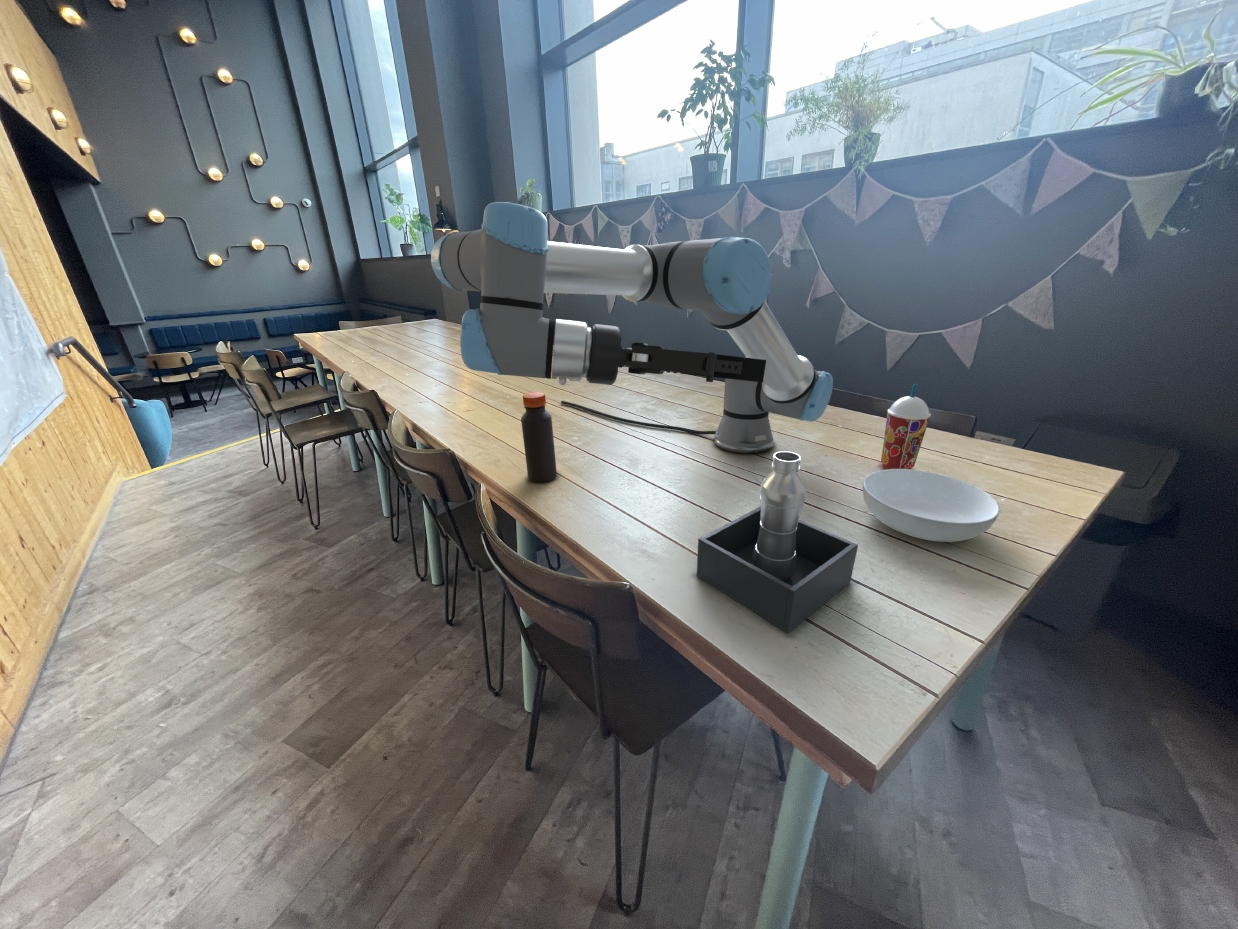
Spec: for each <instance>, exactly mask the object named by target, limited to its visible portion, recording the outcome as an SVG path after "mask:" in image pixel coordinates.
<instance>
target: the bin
mask: <svg viewBox="0 0 1238 929" xmlns="http://www.w3.org/2000/svg"><path fill="white" fill-rule="evenodd" d="M760 516H761V505H760V506H758V507H756V508H754V509H753V510H751V511H749V512H746V513H745V514H743V515H741V516H739V517H738V518H735V519H733V520H732V521H730V522H727V523H726V524H724V525H722V526H720V527H718V528H716V529H714V530H712V531H710V532H709V533H706V534H704V535H703V536H701V537H699V538H697V559H696V561H697V562H696V577H698V578H700V580H702V581H704V582H706V583H707V584H709V585H710V586H712V587H714V588H715V589H716V590H718V591H720V592H721V593H723V594H725V595H726V596H728V597H729V598H731V599H732V600H734V601H736V602H737V603H739V604H741V605H742V606H744V607H745V608H747V609H748V610H750V611H752V612H753V613H755V614H756V615H757V616H759V617H761V618H763V619H764V620H765V621H767V622H769V623H770V624H772V625H773V626H776V628H779V629H780V630H782V631H783V632H784V633H786V634H790V633H791V632H792V631H793V630H794V629H795V628H797V627H798V626H800V625H801V624H802V623H803V622H804V621H805V620H807V619H808V618H809V617H810V616H812V615H813V614H814V613H816V611H818V610H819V609H820V608H822V607H823V606H824V605H825V604H827V603H828V602H829V601H830V600H831V599H833V598H834V597H835V596H836V595H837V594H839V593H840V592H841V591H843V589H845V588H846V587H848V585H850V584H851V581H852V576H853V571H854V567H855V562H856V557H857V552H858V547H859V543H858V544H857V543H855V542H853V541H851V540H848V539H846V538H844V537H841V536H839V535H836V534H834V533H833V532H832V533H831V532H829V531H827V530H825V529H823V528H820V527H818V526H815V525H813V524H810V523H808V522H806V521H803V520H801V519H799V521H798V526H797V531H796V547H795V551H796V567H795V570H794V573H793V574H792V576H791V577H789V578H788V579H787V580H785V581H781V580H779V579H778V578H776V577H774V576H772V575H770V574H768V573H767V572H765V571H763V570H761V569H759V568H757V567H756V566H754V565H753V559H752V557H753V553H754V549H755V546H756V544H757V539H758V534H759V530H760Z"/></svg>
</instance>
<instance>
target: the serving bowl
mask: <svg viewBox="0 0 1238 929" xmlns="http://www.w3.org/2000/svg"><path fill="white" fill-rule="evenodd" d="M862 496H863V500H864V504H865V505H866V507H867V509H868V510H869V512H870V513H871V514H872V515H873V516H874V517H875V518H876V519H877V520H878V521H880V523H882V524H884V525H885V526H887V527H889V528H891V529H893V530H894V531H896V532H899V533H901V534H904V535H907V536H910V537H913V538H917V539H920V540H927V541H933V542H942V543H943V542H945V543H954V542H961V541H968V540H970V539H973V538H976V537H978V536H980V535H982V534H984V533H985V532H987V531H988V530H989V529H990V528H992V527H993V525H994V524H995V522H996V520H997V519H998V517H999V516H1000V512H1001V507H1000V505H999V502H997V500H996V499H995V498H994V497H993V496H992V495H990V494H989V493H988V492H986V491H985V490H983V489H981V488H980V487H977V486H976V485H974V484H971V483H969V482H967V481H965V480H961V479H958V478H955V477H952V476H949V475H946V474H941V473H938V472H937V473H936V472H931V471H926V470H919V469H912V468H911V469H888V470H886V469H883V470H882V469H881V470H876V471H874V472H871V473H869V474H868V475H866V476H865V477H864V479H863V481H862Z"/></svg>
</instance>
